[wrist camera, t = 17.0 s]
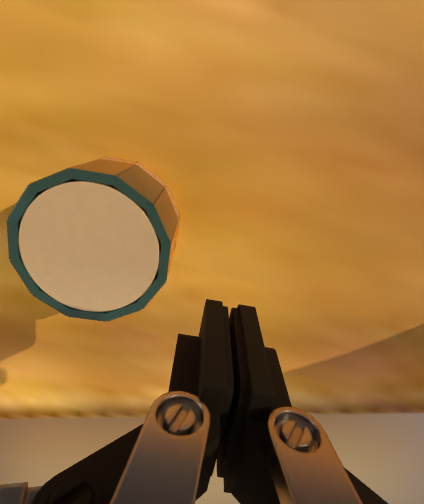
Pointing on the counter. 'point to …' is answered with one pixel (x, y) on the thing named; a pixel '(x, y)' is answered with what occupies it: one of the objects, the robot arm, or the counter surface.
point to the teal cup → (94, 238)
